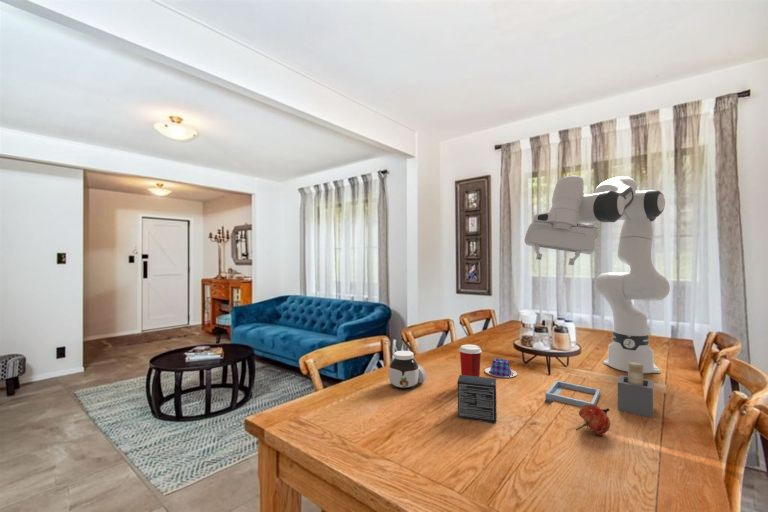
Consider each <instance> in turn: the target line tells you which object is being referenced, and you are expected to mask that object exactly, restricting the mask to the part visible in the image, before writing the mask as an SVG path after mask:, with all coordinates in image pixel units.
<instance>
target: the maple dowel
mask: <svg viewBox="0 0 768 512" xmlns="http://www.w3.org/2000/svg"><path fill="white" fill-rule="evenodd" d="M627 376H628V383H631V384H636V385H642V386H643V379H644V373H643V365H642V364H639V363H633V362H630V363H628V372H627Z"/></svg>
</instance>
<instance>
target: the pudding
mask: <svg viewBox="0 0 768 512" xmlns="http://www.w3.org/2000/svg"><path fill="white" fill-rule="evenodd" d="M489 371H490V373H489ZM511 371H512V372H513V373H514V374H513V376H512V375H511V374H512V373H511ZM484 372H485V373H486V374H488V375H490V376H492V377H496V378H505V377H509V376H510V377H509V378H513V377H516V376H517V375H518V373H517V371H516V370H514V369H511V366H510V362H509V361H508V359H504V358H494V359H492V363H491V367H487V368H484Z"/></svg>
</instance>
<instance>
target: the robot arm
mask: <svg viewBox="0 0 768 512" xmlns="http://www.w3.org/2000/svg"><path fill="white" fill-rule="evenodd" d="M584 181H585V180H584V178H583V177H582V176H580V175H567V176H563V177H560V178H559V179H558V180H557V182H556V184H555V187H554V189H553V194H552V198H551V207H550V210H549V212H545V213H544V212H543V213H539V214H535V215H534V216H533V219H532V222H531V223H530V224H529V225H528V228H527V230H526V233H525V237H524V243H525V244H526V246H530V247H534V251H535V253H536V257H535V260H538V261H542V257H543V254H542V253H540V252H539V251H540V248H543V249H544V248H545V249H550V250H557V251H564V252H571V253H574V256H573V258H571V257H570V258H569V259H568V265H569V266H574V265H575V261H576V260H578V258H579V257H580V255H581V254H582V255H583V254H585V255H591V254H593V252H594V251H595V247H596V239H597V238H598V236H599V229H598V228H597V227H596V226H594V223H616V222H617V221H621V220H622V221H623V223H622V227H621V230H620V233H619V241H618V246H617V247H618V248H617V257H618V259H619V261H621V262H622V263H624V264H626V265H628V266H629V267H630V272H627V271H626V272H622V271H621V272H620V271H619V272H618V271H610V272H603V273H600V274H599V275H598V276H597V277H596V278H595V279H596V280H595V283H594V285H595V289H596V291H597V292H598V294H599V295H601V297H603V299H605V300H606V302H607V303H608V305H609V307H610V309H611V312H612V316H613V317H612V319H613V331H612V335H611V336H612V342H610V343H609V344H608V348H607V359H604V360H602V361H603V362H602V364H603V365H606V366H609V367H611V368H614V369H616V370H618V371H622V372H627V373H628V363H630V362H633V363H639V364H642V365H643V374H660V373H661V370H660V369H659V367H658V366H657V365H656V364H655V363H654V362H655V359H654V350H653V349H652V348H651V347H650V346H649V345H650V338H649V335H648V317H647V315H646V313H645V312H643V311H642V310H641V309H639V308H637V307H636V306H635V305H634V303H633V302H632V300H633V301H644V302H645V301H646V302H655V301H663V300H664V299H666V297H667V296H668V295H669V293H670V290H671V289H670V287H671V286H670V282H669V281H668V279H667V278H666V277H665V276H663V274H661V273H659V271H657V269H656V268H655V266H654V263H653V261H652V246H653V237H654V235H653V232H654V231H653V222H654V221H655V220H656V219H657V217H659V216H660V215H662V213H663V211H664V210H665V206H666V199H665V196H664V194H663V193H662V191H660V190H656V189H648V190H637V189H638V186H637V185H638V184H637V182H636V181H635V179H634V178H632V177H629V176H615V177H612V178H609V179H607V180H605V181H603V182H601V183H600V184H598V185H597V186H596V188H594V191H593V193H590V194H584V186H585V183H584ZM592 224H593V225H592Z"/></svg>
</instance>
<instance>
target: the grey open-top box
mask: <svg viewBox="0 0 768 512" xmlns="http://www.w3.org/2000/svg"><path fill="white" fill-rule="evenodd" d="M654 407H655V405H654V380H651V379H647V378H643V386H642V385H636V384H631V383H628V375H624V374H620V375H619V378H618V380H617V410H618V411H619V412H620V411H621V412H625V413H629V414H632V415H633V414H634V415H638V416H641V417H647V418H650V419H654V409H655V408H654Z"/></svg>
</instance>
